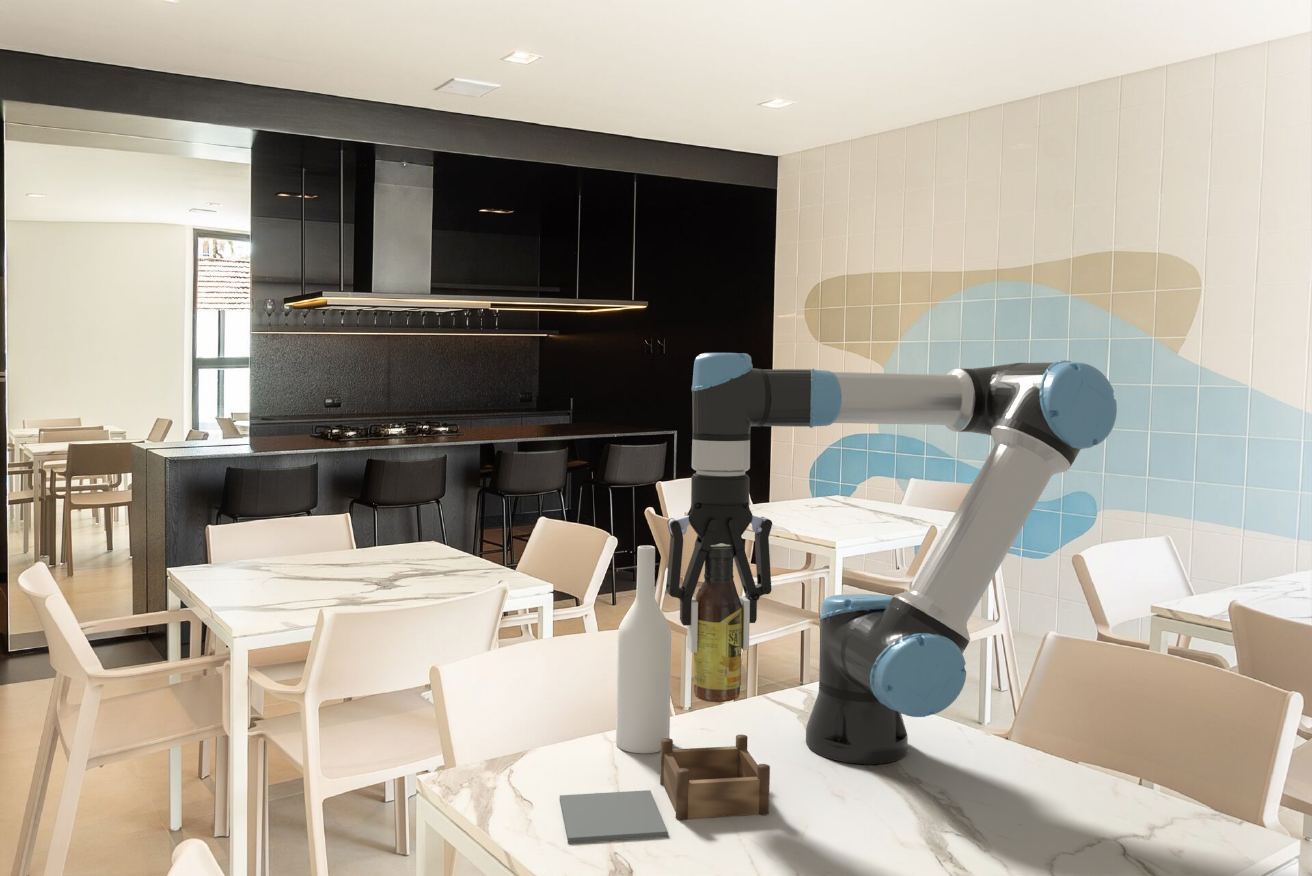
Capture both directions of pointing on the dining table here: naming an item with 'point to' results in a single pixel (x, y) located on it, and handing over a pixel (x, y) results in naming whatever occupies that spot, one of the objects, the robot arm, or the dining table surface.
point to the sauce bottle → (718, 630)
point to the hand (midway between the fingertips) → (717, 648)
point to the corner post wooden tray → (714, 781)
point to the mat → (611, 816)
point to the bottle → (643, 666)
